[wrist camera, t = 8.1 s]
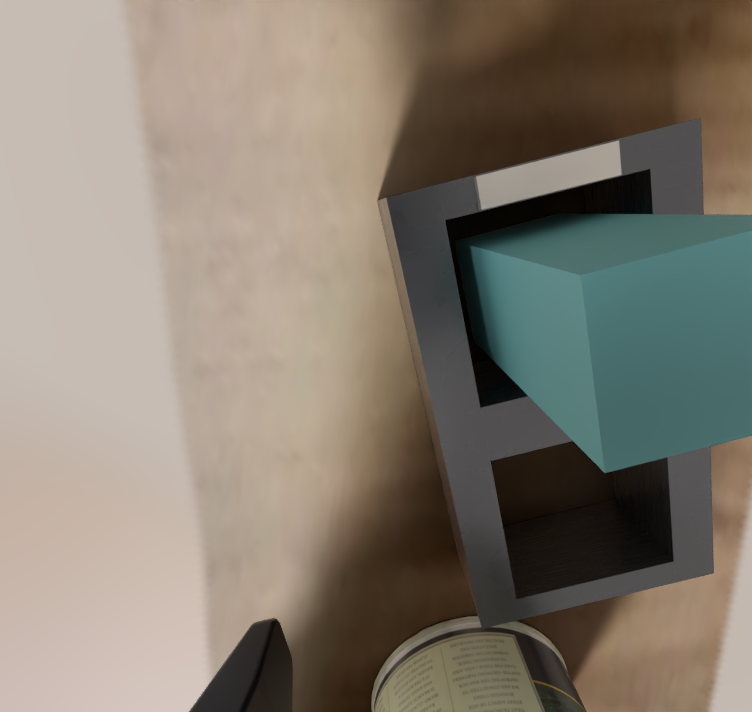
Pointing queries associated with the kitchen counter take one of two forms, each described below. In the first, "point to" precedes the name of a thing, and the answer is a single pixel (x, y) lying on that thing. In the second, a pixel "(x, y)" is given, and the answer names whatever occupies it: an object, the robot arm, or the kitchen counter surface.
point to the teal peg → (621, 326)
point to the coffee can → (475, 671)
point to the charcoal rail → (523, 416)
